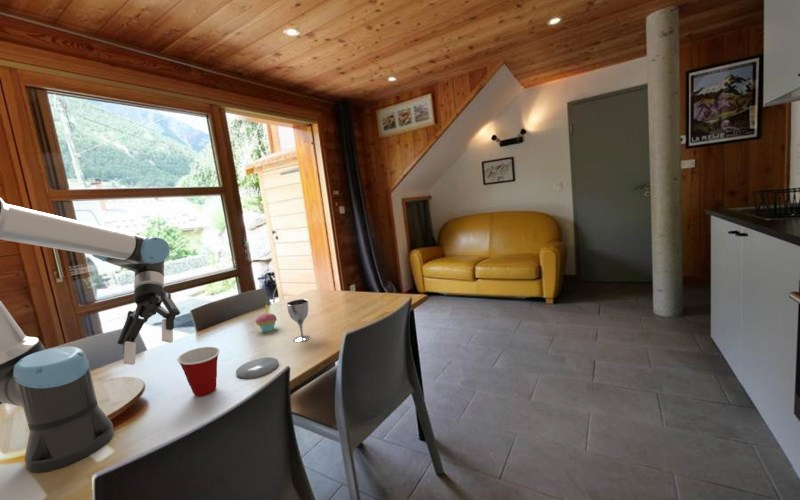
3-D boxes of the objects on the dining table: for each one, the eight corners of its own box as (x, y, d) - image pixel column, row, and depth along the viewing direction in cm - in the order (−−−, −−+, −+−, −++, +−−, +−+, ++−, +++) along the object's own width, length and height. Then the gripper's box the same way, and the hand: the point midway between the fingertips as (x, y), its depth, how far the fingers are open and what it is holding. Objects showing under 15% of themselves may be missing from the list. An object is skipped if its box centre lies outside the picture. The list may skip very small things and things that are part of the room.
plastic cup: (208, 402, 96) (200, 362, 94) (175, 401, 98) (167, 362, 97) (234, 382, 107) (227, 345, 105) (204, 381, 109) (197, 345, 107)
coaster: (247, 383, 105) (247, 380, 105) (229, 372, 114) (229, 369, 114) (285, 365, 115) (285, 363, 115) (266, 356, 123) (266, 354, 123)
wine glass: (316, 337, 137) (311, 300, 135) (299, 344, 132) (293, 306, 129) (305, 333, 143) (300, 298, 141) (288, 340, 137) (282, 303, 135)
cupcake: (282, 327, 153) (278, 301, 151) (265, 334, 146) (261, 307, 144) (269, 325, 157) (265, 299, 156) (253, 332, 150) (248, 305, 149)
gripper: (191, 274, 109) (195, 334, 98) (130, 311, 112) (127, 374, 101) (170, 265, 103) (171, 328, 92) (105, 304, 106) (99, 371, 95)
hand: (148, 352), depth 96 cm, fingers open, 13 cm apart
